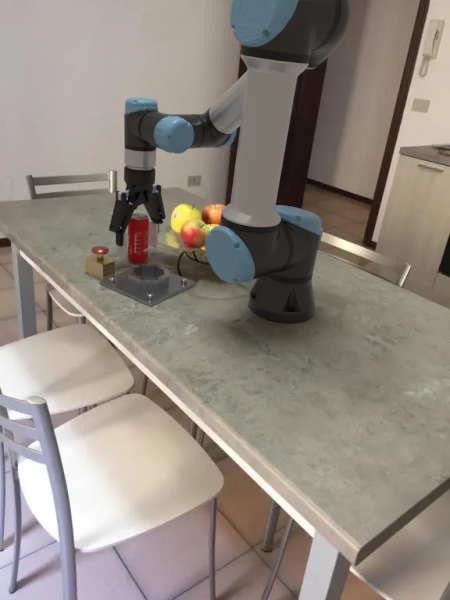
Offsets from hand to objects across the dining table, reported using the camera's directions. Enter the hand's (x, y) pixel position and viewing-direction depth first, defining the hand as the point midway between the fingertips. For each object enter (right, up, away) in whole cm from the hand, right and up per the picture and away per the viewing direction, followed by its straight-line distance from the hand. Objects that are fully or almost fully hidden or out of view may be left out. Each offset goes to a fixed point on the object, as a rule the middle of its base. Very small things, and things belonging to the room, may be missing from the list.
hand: (137, 251), depth 135 cm
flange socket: (+4, -9, -12) cm, 15 cm away
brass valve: (-8, -6, -9) cm, 13 cm away
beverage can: (0, -2, +1) cm, 3 cm away
